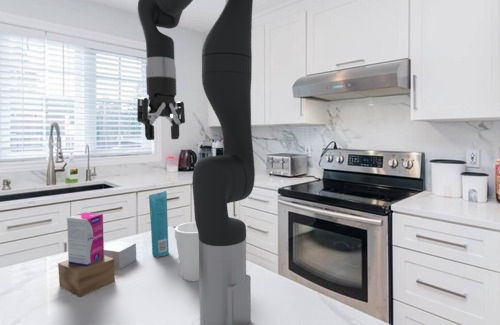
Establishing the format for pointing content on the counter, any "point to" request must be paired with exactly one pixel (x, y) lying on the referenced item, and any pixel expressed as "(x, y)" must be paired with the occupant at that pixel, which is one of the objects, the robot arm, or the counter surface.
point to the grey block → (121, 253)
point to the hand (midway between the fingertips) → (163, 139)
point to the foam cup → (188, 250)
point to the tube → (159, 224)
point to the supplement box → (85, 238)
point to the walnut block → (86, 276)
